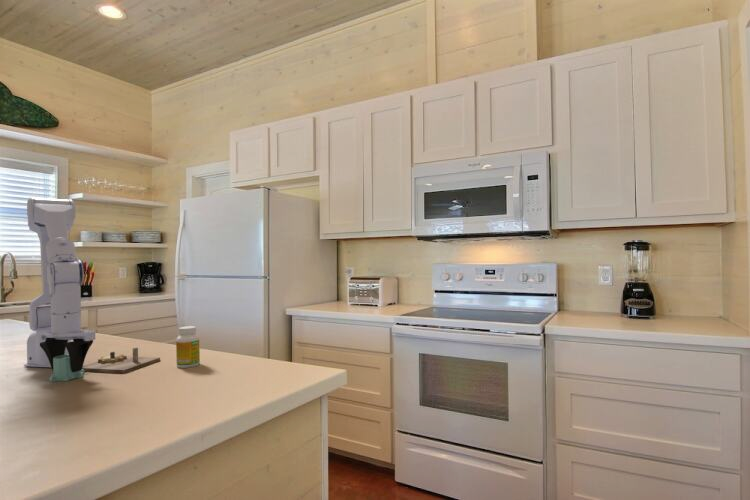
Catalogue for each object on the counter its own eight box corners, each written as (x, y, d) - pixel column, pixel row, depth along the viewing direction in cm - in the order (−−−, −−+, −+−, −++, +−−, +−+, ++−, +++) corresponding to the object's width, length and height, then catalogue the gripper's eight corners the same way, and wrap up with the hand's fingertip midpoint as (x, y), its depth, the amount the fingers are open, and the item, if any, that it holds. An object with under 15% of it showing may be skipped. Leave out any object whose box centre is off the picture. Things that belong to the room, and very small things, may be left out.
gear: (41, 381, 97) (41, 359, 97) (69, 372, 103) (68, 352, 103) (65, 382, 95) (64, 360, 95) (92, 373, 102) (91, 353, 102)
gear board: (76, 370, 105) (76, 353, 105) (116, 358, 116) (116, 343, 116) (123, 373, 101) (123, 355, 101) (160, 360, 113) (159, 344, 113)
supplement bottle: (194, 368, 105) (193, 329, 105) (172, 368, 105) (171, 329, 105) (203, 362, 110) (202, 325, 110) (182, 362, 110) (182, 325, 110)
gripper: (24, 314, 97) (25, 374, 97) (75, 315, 94) (76, 376, 93) (54, 310, 104) (55, 365, 104) (102, 311, 100) (103, 368, 100)
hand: (67, 370), depth 99 cm, fingers closed on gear, 5 cm apart
